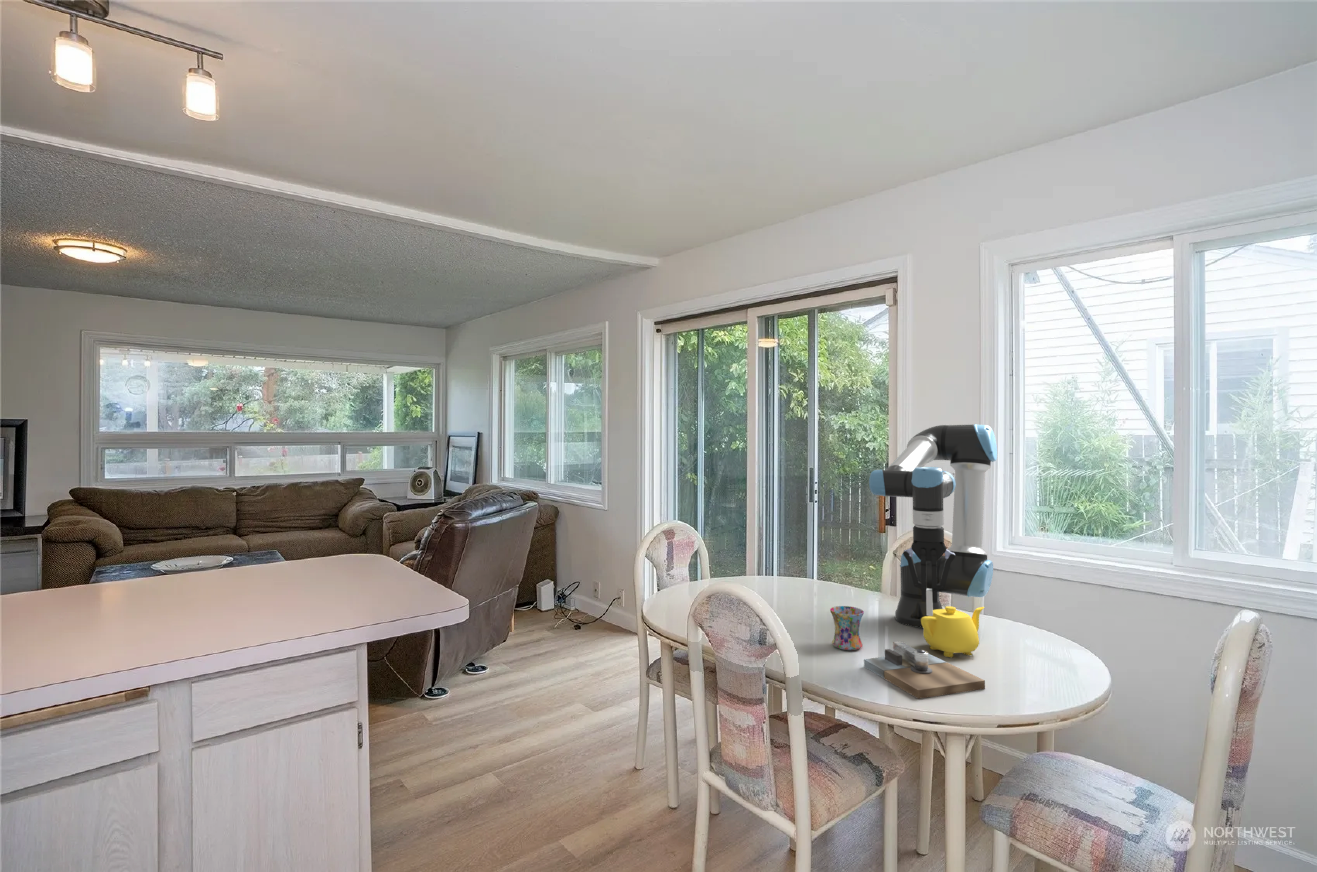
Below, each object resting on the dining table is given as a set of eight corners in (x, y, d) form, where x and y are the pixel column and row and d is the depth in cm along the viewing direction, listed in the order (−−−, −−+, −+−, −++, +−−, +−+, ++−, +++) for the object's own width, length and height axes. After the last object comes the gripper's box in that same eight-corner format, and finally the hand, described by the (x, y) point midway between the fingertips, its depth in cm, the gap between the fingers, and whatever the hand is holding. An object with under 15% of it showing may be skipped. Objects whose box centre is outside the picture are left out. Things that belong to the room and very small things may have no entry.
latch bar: (930, 669, 157) (930, 652, 157) (919, 670, 156) (919, 652, 156) (903, 652, 169) (903, 636, 169) (892, 653, 169) (892, 636, 169)
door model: (924, 658, 171) (924, 642, 171) (984, 688, 151) (984, 670, 151) (864, 666, 166) (863, 649, 166) (918, 698, 146) (918, 679, 146)
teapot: (1001, 656, 173) (1001, 611, 173) (937, 662, 169) (936, 616, 169) (967, 640, 186) (967, 598, 186) (907, 645, 182) (906, 603, 182)
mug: (867, 653, 176) (867, 615, 176) (834, 652, 177) (833, 614, 177) (857, 639, 188) (857, 603, 188) (825, 638, 189) (825, 603, 189)
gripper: (900, 527, 166) (902, 615, 167) (955, 529, 160) (957, 621, 161) (902, 522, 173) (904, 607, 173) (955, 524, 167) (956, 612, 168)
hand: (929, 614), depth 167 cm, fingers closed
